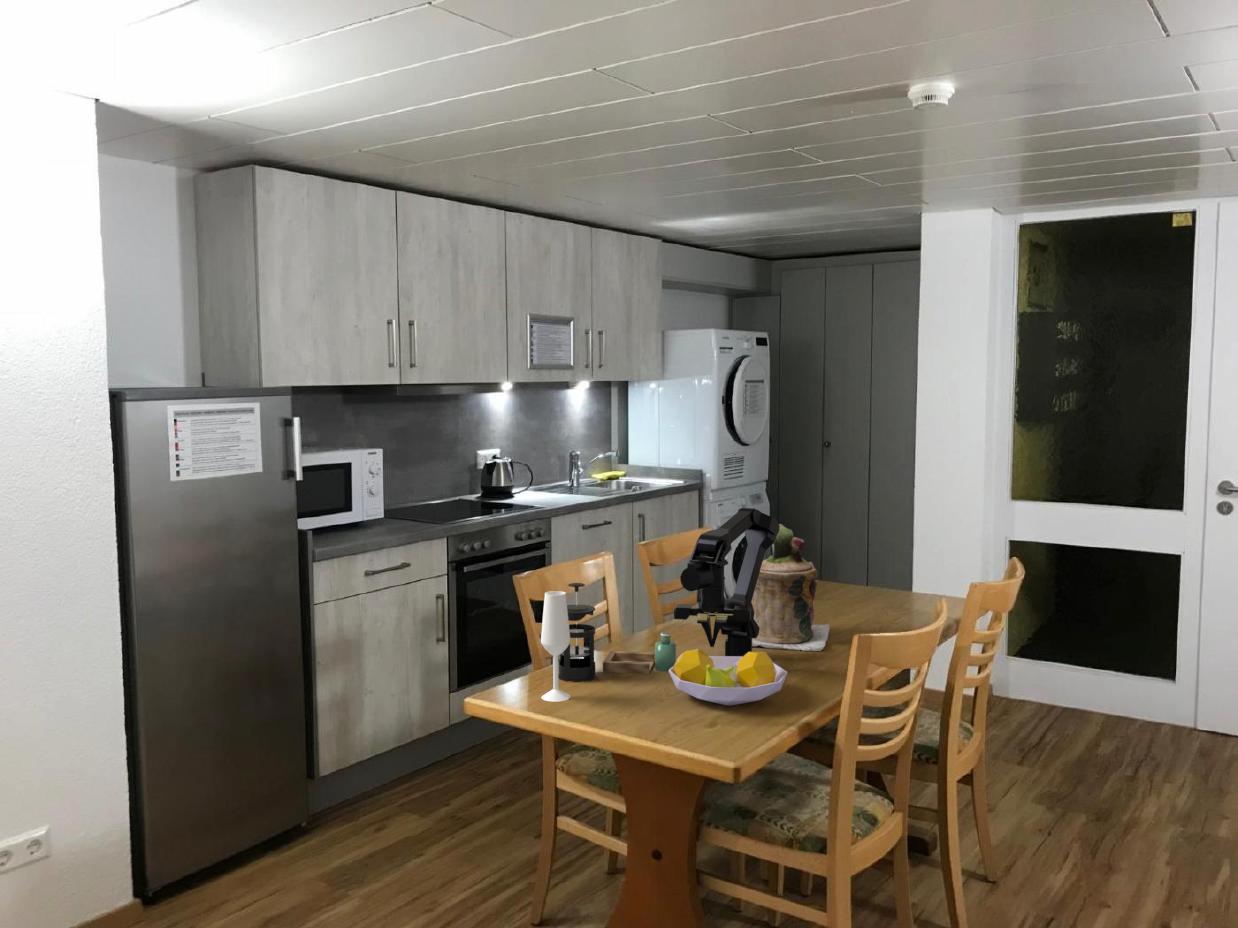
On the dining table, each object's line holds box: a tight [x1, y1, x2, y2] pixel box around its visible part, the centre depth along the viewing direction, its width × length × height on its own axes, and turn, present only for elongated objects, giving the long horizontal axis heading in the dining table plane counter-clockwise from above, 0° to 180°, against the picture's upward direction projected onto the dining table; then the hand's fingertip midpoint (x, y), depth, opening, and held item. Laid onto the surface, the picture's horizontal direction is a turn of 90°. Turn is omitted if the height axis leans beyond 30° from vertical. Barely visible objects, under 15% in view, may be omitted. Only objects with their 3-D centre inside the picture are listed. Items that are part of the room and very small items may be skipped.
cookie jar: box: [752, 523, 830, 652], centre depth 280 cm, size 25×25×32 cm
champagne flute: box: [540, 590, 571, 703], centre depth 228 cm, size 7×7×24 cm
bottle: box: [654, 631, 677, 673], centre depth 252 cm, size 5×5×9 cm
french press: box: [558, 582, 597, 683], centre depth 245 cm, size 12×9×23 cm
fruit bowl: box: [668, 648, 788, 707], centre depth 228 cm, size 28×27×11 cm
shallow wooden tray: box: [602, 650, 655, 675], centre depth 253 cm, size 12×11×2 cm
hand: (712, 646), depth 250 cm, fingers closed
